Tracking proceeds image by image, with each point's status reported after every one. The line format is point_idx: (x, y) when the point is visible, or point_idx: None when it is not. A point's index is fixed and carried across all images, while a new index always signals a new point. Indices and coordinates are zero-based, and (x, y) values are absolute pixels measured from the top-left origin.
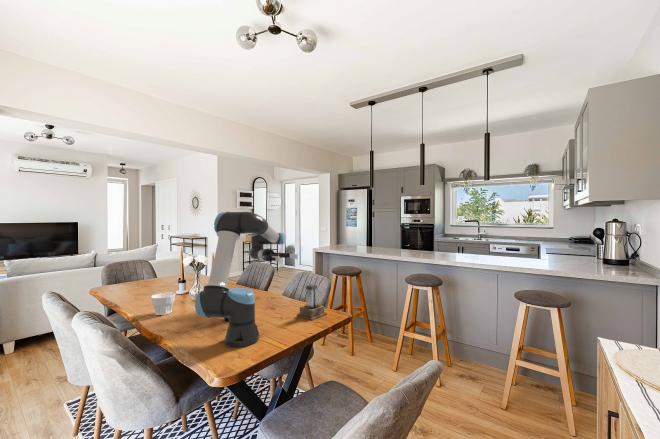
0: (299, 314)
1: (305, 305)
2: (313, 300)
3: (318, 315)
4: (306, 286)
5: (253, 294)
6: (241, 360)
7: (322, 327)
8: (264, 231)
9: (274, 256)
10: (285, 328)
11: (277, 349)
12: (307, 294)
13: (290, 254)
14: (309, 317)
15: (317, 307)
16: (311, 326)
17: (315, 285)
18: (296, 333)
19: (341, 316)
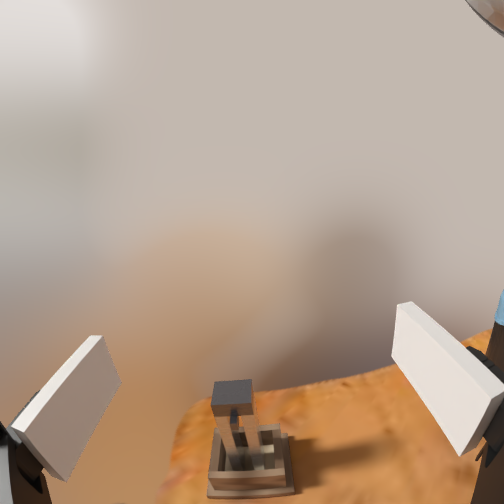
0: (291, 483)
1: (253, 473)
2: (237, 434)
3: None
4: (251, 404)
5: (501, 294)
6: (485, 347)
7: (300, 393)
8: (494, 27)
9: (467, 355)
10: (387, 429)
11: None
12: (256, 425)
13: (43, 425)
14: (286, 444)
15: (221, 452)
16: (319, 409)
17: (222, 382)
18: (374, 395)
19: (204, 409)
